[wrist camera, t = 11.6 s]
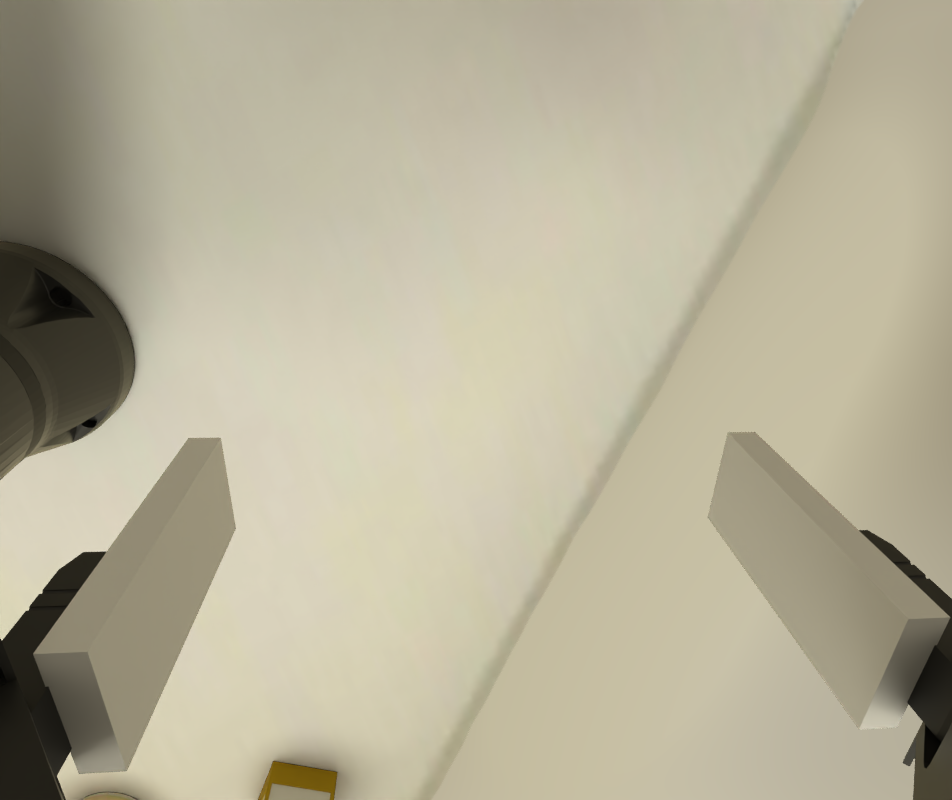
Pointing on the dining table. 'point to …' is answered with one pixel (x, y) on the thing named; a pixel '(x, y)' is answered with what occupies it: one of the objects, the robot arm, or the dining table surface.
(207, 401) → the dining table surface
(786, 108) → the dining table surface
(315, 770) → the soap bottle
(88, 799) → the coffee cup
